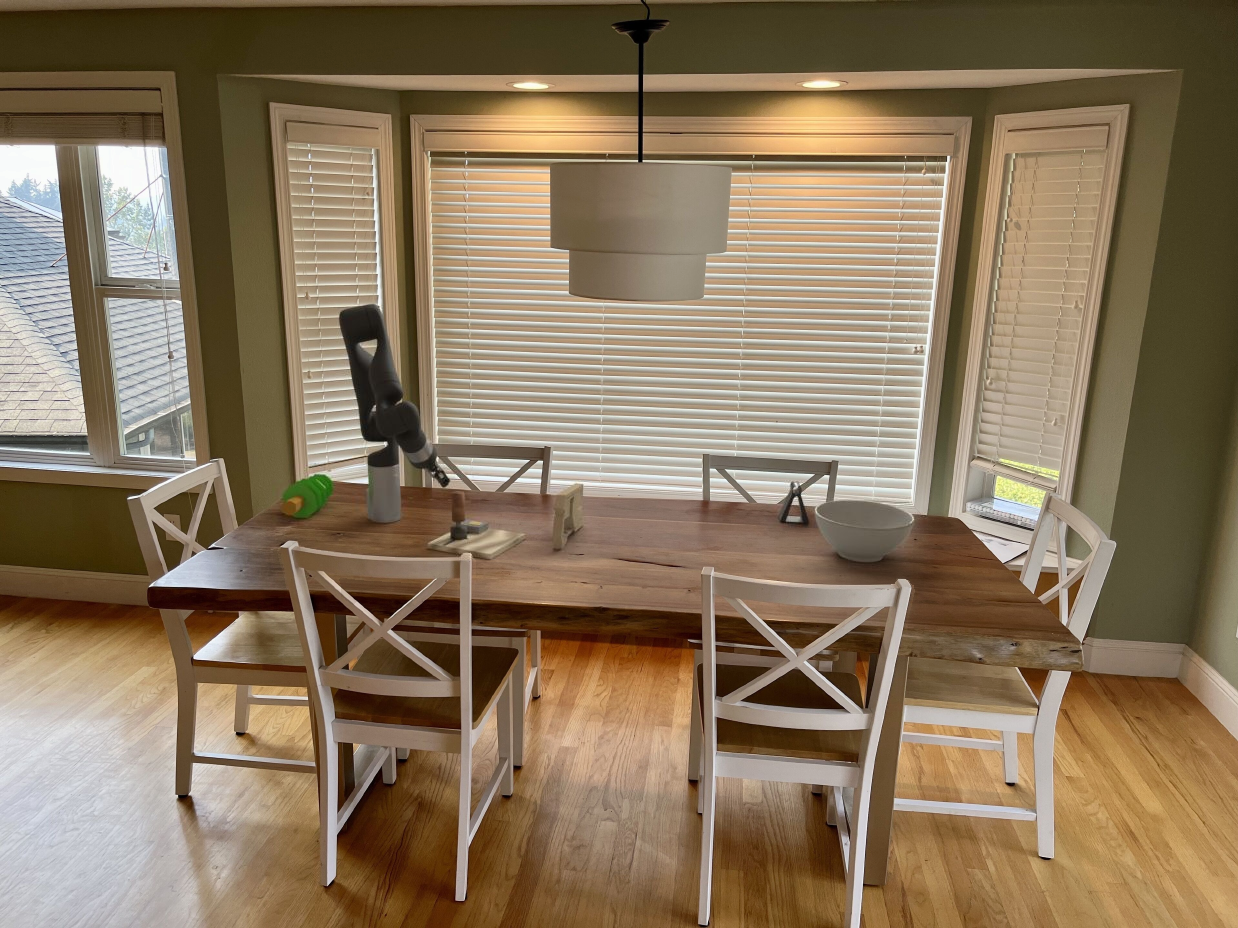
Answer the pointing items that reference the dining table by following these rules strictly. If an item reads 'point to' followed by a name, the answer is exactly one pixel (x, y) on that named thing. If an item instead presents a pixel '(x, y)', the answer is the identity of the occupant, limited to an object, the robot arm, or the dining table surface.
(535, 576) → the dining table surface
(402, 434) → the robot arm
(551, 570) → the dining table surface
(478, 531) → the block
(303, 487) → the decorative tree
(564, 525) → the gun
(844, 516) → the decorative bowl
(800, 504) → the phone stand
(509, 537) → the subfloor panel
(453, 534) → the wooden handled stamp
